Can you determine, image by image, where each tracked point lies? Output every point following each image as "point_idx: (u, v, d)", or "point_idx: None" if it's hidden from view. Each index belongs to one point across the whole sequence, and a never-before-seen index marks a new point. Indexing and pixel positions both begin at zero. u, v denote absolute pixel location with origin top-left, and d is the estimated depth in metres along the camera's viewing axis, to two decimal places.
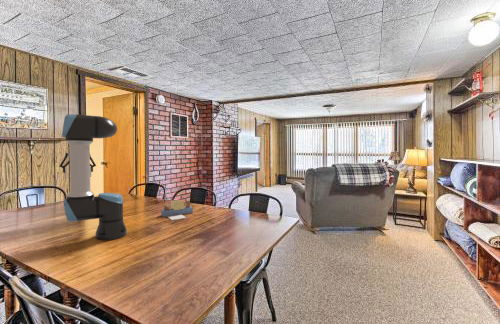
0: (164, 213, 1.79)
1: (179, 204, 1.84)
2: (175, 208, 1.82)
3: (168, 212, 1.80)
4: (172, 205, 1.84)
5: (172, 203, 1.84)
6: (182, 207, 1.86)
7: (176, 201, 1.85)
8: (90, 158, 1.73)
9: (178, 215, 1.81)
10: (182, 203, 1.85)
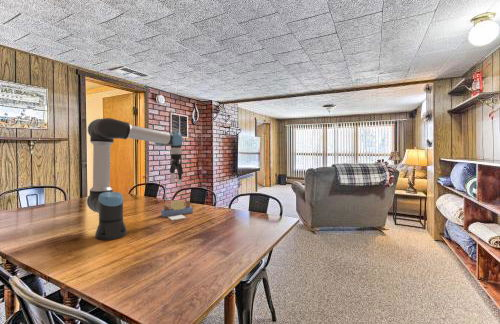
0: (164, 213, 1.79)
1: (179, 204, 1.84)
2: (175, 208, 1.82)
3: (168, 212, 1.80)
4: (172, 205, 1.84)
5: (172, 203, 1.84)
6: (182, 207, 1.86)
7: (176, 201, 1.85)
8: (178, 166, 1.79)
9: (178, 215, 1.81)
10: (182, 203, 1.85)
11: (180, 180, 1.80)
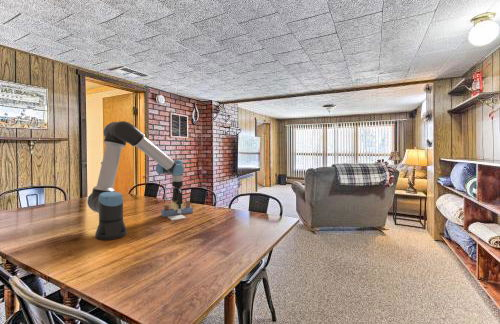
0: (164, 213, 1.79)
1: None
2: (175, 208, 1.82)
3: (168, 212, 1.80)
4: (172, 205, 1.84)
5: (172, 203, 1.84)
6: (182, 207, 1.86)
7: (176, 201, 1.85)
8: (178, 195, 1.81)
9: (178, 215, 1.81)
10: (182, 203, 1.85)
11: (180, 209, 1.84)
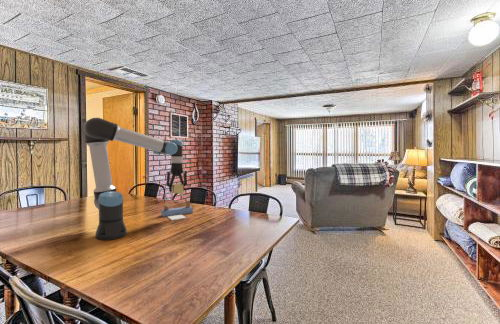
0: (164, 213, 1.79)
1: None
2: None
3: (168, 212, 1.80)
4: (179, 188, 1.73)
5: (179, 186, 1.72)
6: None
7: (178, 184, 1.75)
8: (185, 176, 1.77)
9: (178, 215, 1.81)
10: None
11: None
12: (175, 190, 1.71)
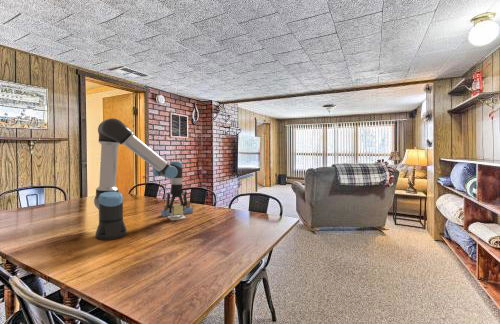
0: (164, 213, 1.79)
1: None
2: None
3: (168, 212, 1.80)
4: (179, 210, 1.73)
5: (179, 207, 1.73)
6: None
7: (178, 205, 1.76)
8: (185, 197, 1.78)
9: (178, 215, 1.81)
10: None
11: None
12: (175, 211, 1.72)
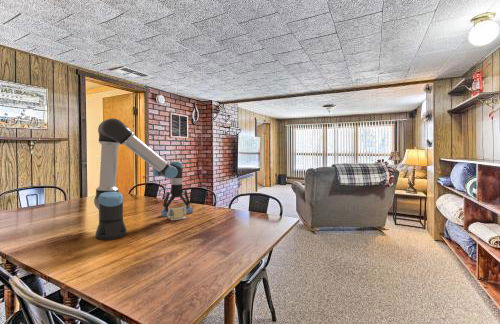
0: (164, 213, 1.79)
1: None
2: None
3: None
4: (179, 214, 1.73)
5: (179, 212, 1.73)
6: None
7: (178, 209, 1.76)
8: (186, 196, 1.79)
9: None
10: None
11: None
12: (175, 215, 1.72)
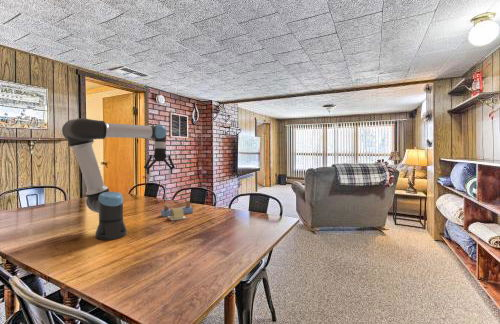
0: (164, 213, 1.79)
1: None
2: None
3: (168, 212, 1.80)
4: (179, 214, 1.73)
5: (179, 212, 1.73)
6: None
7: (178, 209, 1.76)
8: (170, 160, 1.78)
9: None
10: None
11: None
12: (175, 215, 1.72)
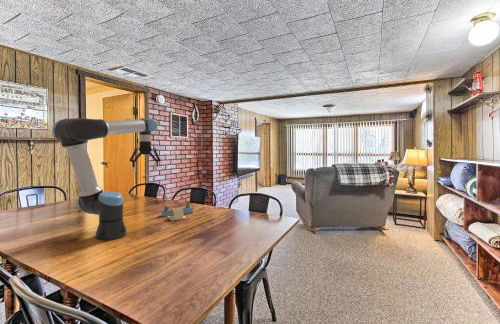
0: (164, 213, 1.79)
1: None
2: None
3: (168, 212, 1.80)
4: (179, 214, 1.73)
5: (179, 212, 1.73)
6: None
7: (178, 209, 1.76)
8: (156, 153, 1.80)
9: None
10: None
11: None
12: (175, 215, 1.72)
